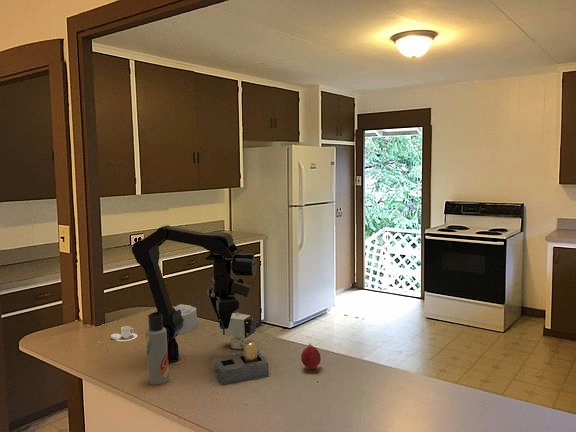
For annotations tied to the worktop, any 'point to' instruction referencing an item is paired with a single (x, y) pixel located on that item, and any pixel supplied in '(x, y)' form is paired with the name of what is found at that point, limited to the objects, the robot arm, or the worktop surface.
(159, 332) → the lotion bottle
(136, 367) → the worktop surface
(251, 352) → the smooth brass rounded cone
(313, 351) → the onion
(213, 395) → the worktop surface
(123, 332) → the teacup and saucer
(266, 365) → the socket block
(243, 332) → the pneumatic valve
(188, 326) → the lumpy-topped squat cylinder
